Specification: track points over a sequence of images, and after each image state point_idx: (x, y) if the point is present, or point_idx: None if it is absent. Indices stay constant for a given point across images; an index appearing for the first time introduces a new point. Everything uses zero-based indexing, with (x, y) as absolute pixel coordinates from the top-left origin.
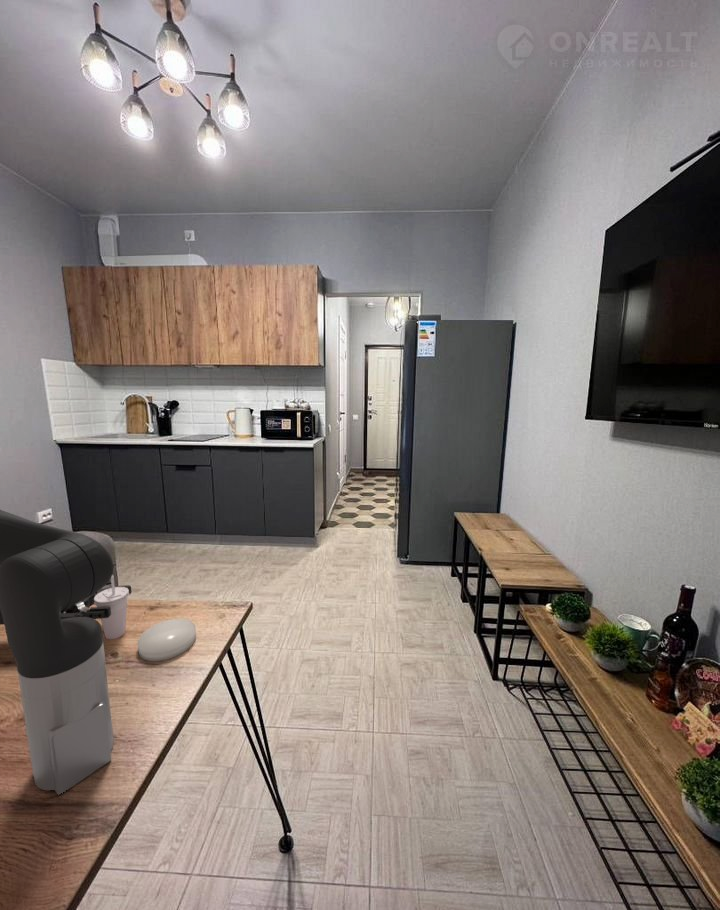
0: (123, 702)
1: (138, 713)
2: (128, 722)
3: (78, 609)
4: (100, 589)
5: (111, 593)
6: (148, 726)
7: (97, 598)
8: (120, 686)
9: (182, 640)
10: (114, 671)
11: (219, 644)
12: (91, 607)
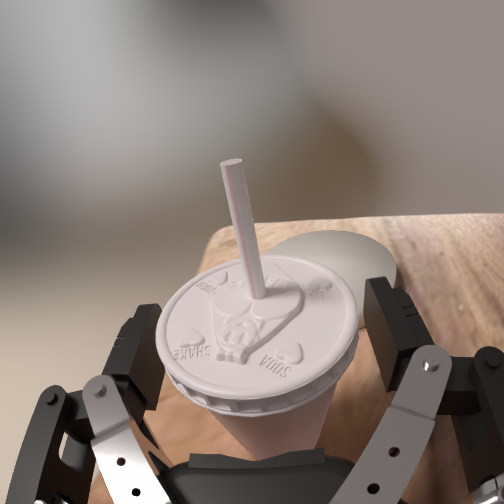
0: (487, 269)
1: (486, 245)
2: (501, 247)
3: (433, 416)
4: (134, 431)
5: (253, 304)
6: (490, 230)
7: (308, 358)
8: (468, 293)
9: (344, 236)
10: (444, 330)
11: (324, 222)
12: (398, 348)
